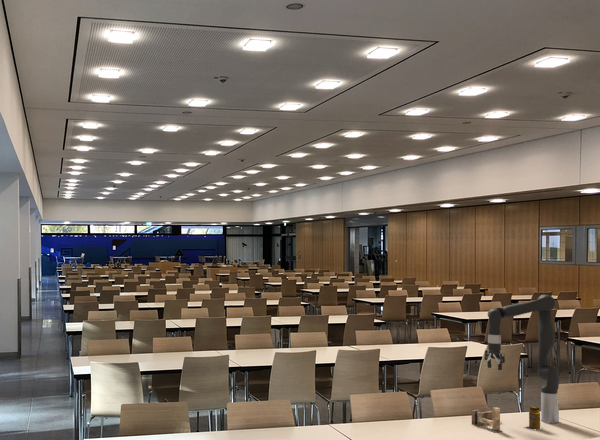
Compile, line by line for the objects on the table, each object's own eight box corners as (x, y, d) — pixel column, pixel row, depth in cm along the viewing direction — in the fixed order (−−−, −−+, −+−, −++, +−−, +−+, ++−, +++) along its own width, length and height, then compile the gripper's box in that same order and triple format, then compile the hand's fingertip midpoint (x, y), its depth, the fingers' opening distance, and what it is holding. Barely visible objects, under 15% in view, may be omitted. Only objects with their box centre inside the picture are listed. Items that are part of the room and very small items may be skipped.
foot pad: (494, 428, 360) (494, 428, 360) (502, 431, 355) (502, 431, 355) (487, 430, 358) (487, 429, 358) (494, 432, 352) (494, 432, 352)
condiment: (543, 428, 362) (543, 407, 362) (534, 431, 357) (534, 409, 357) (532, 425, 368) (532, 404, 368) (523, 427, 363) (523, 406, 364)
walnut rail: (494, 420, 378) (494, 406, 379) (497, 421, 376) (497, 407, 377) (471, 424, 370) (471, 410, 370) (474, 425, 368) (474, 411, 368)
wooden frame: (500, 429, 357) (500, 408, 357) (496, 430, 355) (496, 408, 356) (479, 423, 369) (479, 402, 369) (476, 424, 367) (476, 403, 368)
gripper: (507, 343, 378) (508, 370, 378) (490, 340, 391) (490, 366, 390) (498, 344, 375) (498, 371, 374) (481, 340, 387) (481, 367, 387)
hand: (494, 369), depth 382 cm, fingers open, 8 cm apart
